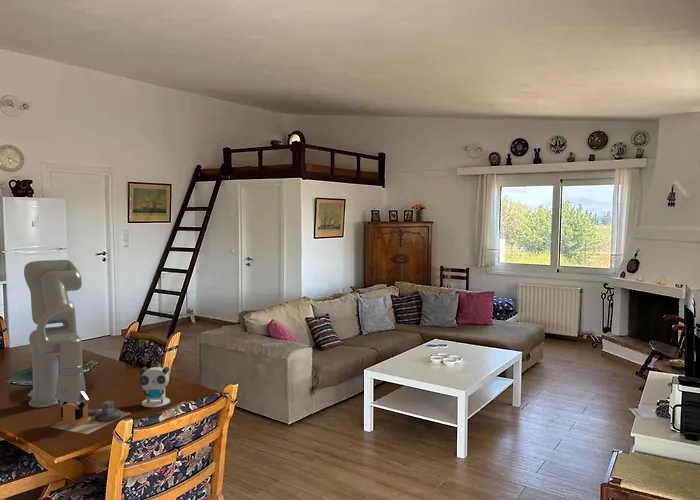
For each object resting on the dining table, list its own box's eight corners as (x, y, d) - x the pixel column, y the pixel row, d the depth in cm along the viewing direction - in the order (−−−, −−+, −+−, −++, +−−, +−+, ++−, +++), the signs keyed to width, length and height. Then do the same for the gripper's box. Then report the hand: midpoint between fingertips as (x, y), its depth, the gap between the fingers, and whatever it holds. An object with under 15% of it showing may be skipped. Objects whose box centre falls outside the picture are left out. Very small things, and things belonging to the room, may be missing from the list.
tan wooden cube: (62, 423, 199) (62, 405, 199) (75, 417, 205) (75, 400, 204) (75, 425, 197) (75, 407, 197) (88, 419, 203) (87, 401, 203)
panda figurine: (135, 407, 219) (135, 371, 218) (146, 397, 231) (145, 363, 230) (164, 407, 219) (164, 371, 219) (173, 398, 231) (173, 364, 230)
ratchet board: (49, 430, 196) (49, 411, 195) (95, 410, 217) (95, 392, 216) (87, 438, 190) (87, 417, 190) (131, 416, 211) (131, 398, 210)
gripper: (44, 370, 197) (45, 418, 199) (81, 375, 192) (82, 424, 193) (61, 365, 205) (62, 411, 206) (97, 370, 199) (98, 417, 200)
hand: (72, 417), depth 200 cm, fingers closed on tan wooden cube, 6 cm apart
